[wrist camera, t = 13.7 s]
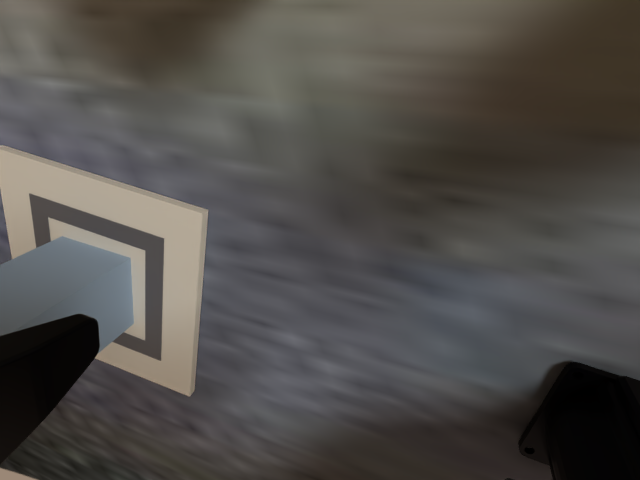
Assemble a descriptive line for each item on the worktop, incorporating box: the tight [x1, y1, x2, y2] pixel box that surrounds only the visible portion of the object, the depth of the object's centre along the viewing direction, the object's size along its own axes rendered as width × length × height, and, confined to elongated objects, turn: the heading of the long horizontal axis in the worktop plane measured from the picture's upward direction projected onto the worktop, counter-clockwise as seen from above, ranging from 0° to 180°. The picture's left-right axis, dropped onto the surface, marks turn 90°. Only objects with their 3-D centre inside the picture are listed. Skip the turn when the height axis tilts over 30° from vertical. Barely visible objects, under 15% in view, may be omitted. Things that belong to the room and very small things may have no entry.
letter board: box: [0, 145, 208, 397], centre depth 27 cm, size 14×14×1 cm
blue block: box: [0, 236, 134, 353], centre depth 22 cm, size 5×5×10 cm
